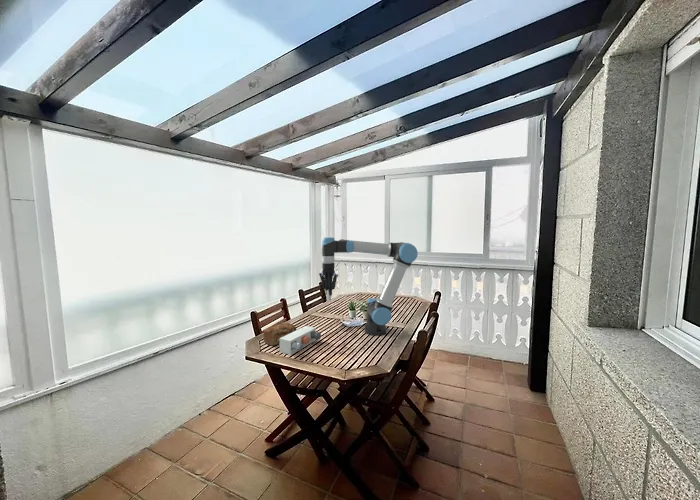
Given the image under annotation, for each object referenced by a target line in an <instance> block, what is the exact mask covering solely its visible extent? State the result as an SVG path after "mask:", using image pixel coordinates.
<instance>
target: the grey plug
mask: <svg viewBox="0 0 700 500" xmlns="http://www.w3.org/2000/svg"><path fill="white" fill-rule="evenodd" d="M321 337H322V333H321V332H320V331H317V332H311V338H315V339H316V340H315V341H320V340H321Z"/></svg>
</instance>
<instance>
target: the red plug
mask: <svg viewBox="0 0 700 500" xmlns="http://www.w3.org/2000/svg"><path fill="white" fill-rule="evenodd" d="M309 341H310V338H309V337H307V336H306V337H301V343H304V344H306V345H307V344H308V343H309ZM308 345H309V344H308ZM308 345H307V346H308Z"/></svg>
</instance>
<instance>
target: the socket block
mask: <svg viewBox="0 0 700 500" xmlns="http://www.w3.org/2000/svg"><path fill="white" fill-rule="evenodd" d="M316 331H317V330H316V327H313V326H309V325H304V326H303V327H301V328H299V329H296V331H294V332H292V333H290V334H288V335H286V336H284V337H281V338H279V340H280V344H279V352H280V353H281V354H285V355H290V356H291V355H293V354H294V353H296V352H298V351H297V350H296V349H293V348H291V343H292V342H297V343H298V342H301V337H306V336H307V337H309V338H310V341H309V343H308V344H307V345H306V344H304V343H302V344H303V347H302V349H303V348H305V347H307V346H309V345H310V344H312V343H313V342H315V341H317V340H316V339H315V338H311V332H316ZM316 333H317V332H316Z"/></svg>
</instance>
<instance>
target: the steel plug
mask: <svg viewBox="0 0 700 500" xmlns="http://www.w3.org/2000/svg"><path fill="white" fill-rule="evenodd" d="M302 347H303V344H302V343H301V342H298V343H297V342H292V343H291V348H293V349H296V350H297V351H296V352H301V351H302V350H303V348H304V347H303V348H302Z"/></svg>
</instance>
